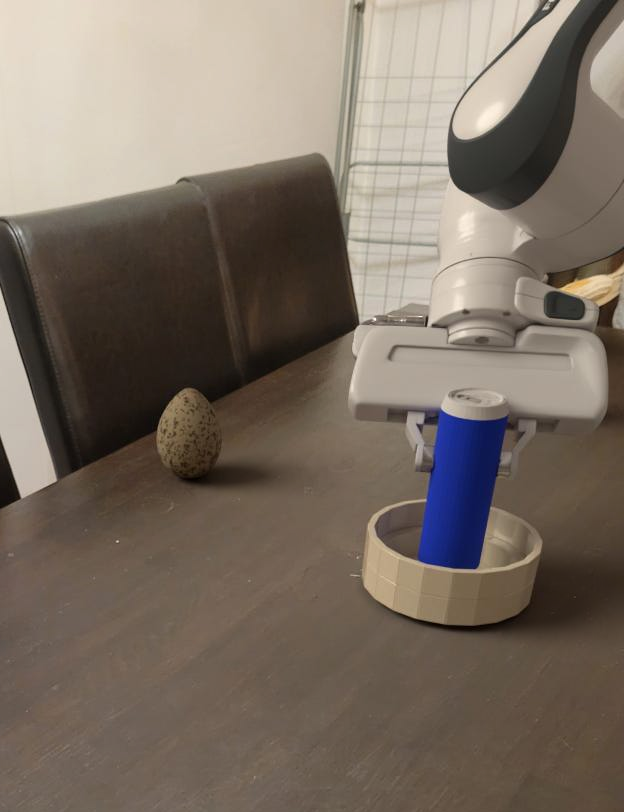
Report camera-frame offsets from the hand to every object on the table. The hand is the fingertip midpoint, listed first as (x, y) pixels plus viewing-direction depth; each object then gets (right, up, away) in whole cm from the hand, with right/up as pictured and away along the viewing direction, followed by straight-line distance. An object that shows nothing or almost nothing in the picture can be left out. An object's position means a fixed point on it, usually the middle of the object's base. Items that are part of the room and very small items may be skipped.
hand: (464, 473), depth 78 cm
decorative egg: (-21, +5, +29) cm, 36 cm away
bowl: (0, -9, +6) cm, 11 cm away
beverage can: (0, -7, +5) cm, 9 cm away
